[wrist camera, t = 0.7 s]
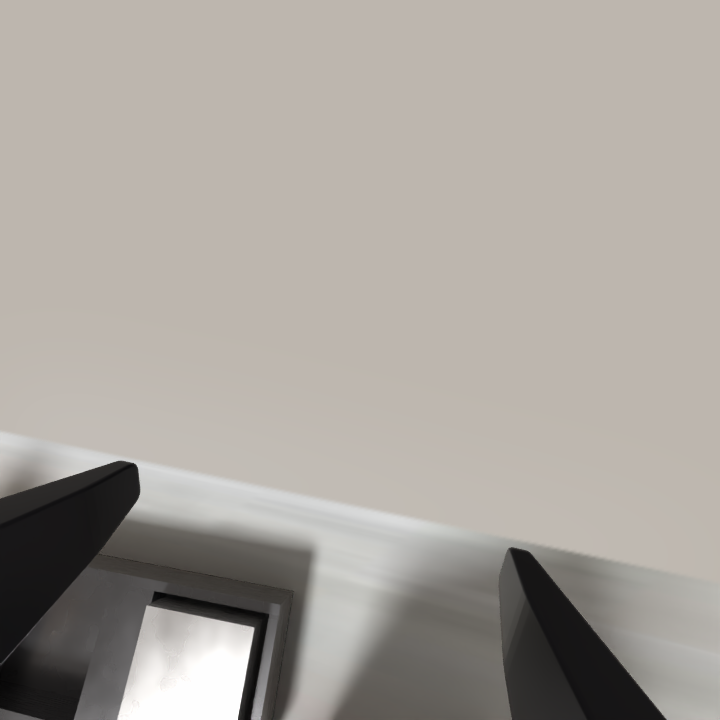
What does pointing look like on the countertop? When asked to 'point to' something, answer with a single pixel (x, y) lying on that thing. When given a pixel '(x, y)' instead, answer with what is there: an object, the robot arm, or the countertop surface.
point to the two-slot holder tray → (150, 648)
